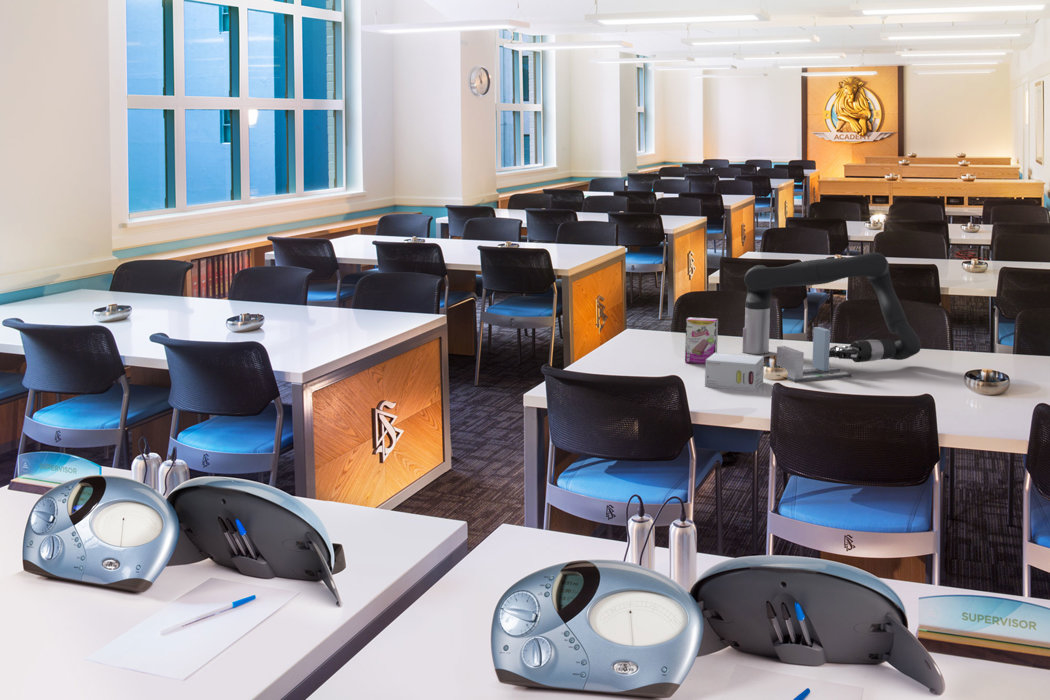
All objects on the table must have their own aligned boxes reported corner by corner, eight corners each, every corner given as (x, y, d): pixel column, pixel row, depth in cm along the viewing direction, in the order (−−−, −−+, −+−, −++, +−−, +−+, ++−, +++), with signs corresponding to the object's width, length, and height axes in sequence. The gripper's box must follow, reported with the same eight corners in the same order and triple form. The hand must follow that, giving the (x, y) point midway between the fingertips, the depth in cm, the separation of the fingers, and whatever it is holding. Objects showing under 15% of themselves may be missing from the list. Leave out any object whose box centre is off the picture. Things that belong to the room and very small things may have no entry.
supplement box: (704, 387, 338) (704, 359, 336) (713, 378, 350) (714, 352, 348) (755, 391, 331) (756, 363, 330) (763, 382, 343) (764, 355, 341)
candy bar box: (684, 363, 374) (685, 319, 371) (687, 360, 379) (687, 317, 375) (715, 365, 370) (716, 320, 367) (717, 362, 375) (718, 318, 372)
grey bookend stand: (831, 369, 359) (832, 342, 357) (851, 377, 348) (852, 348, 346) (776, 374, 353) (777, 346, 351) (794, 382, 342) (795, 353, 340)
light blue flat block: (817, 367, 356) (818, 326, 353) (834, 373, 346) (836, 332, 344) (812, 367, 356) (813, 327, 353) (829, 374, 346) (831, 332, 343)
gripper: (855, 336, 362) (813, 340, 357) (878, 343, 350) (834, 347, 345) (854, 357, 364) (812, 361, 359) (877, 365, 351) (833, 368, 346)
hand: (823, 354), depth 352 cm, fingers closed
